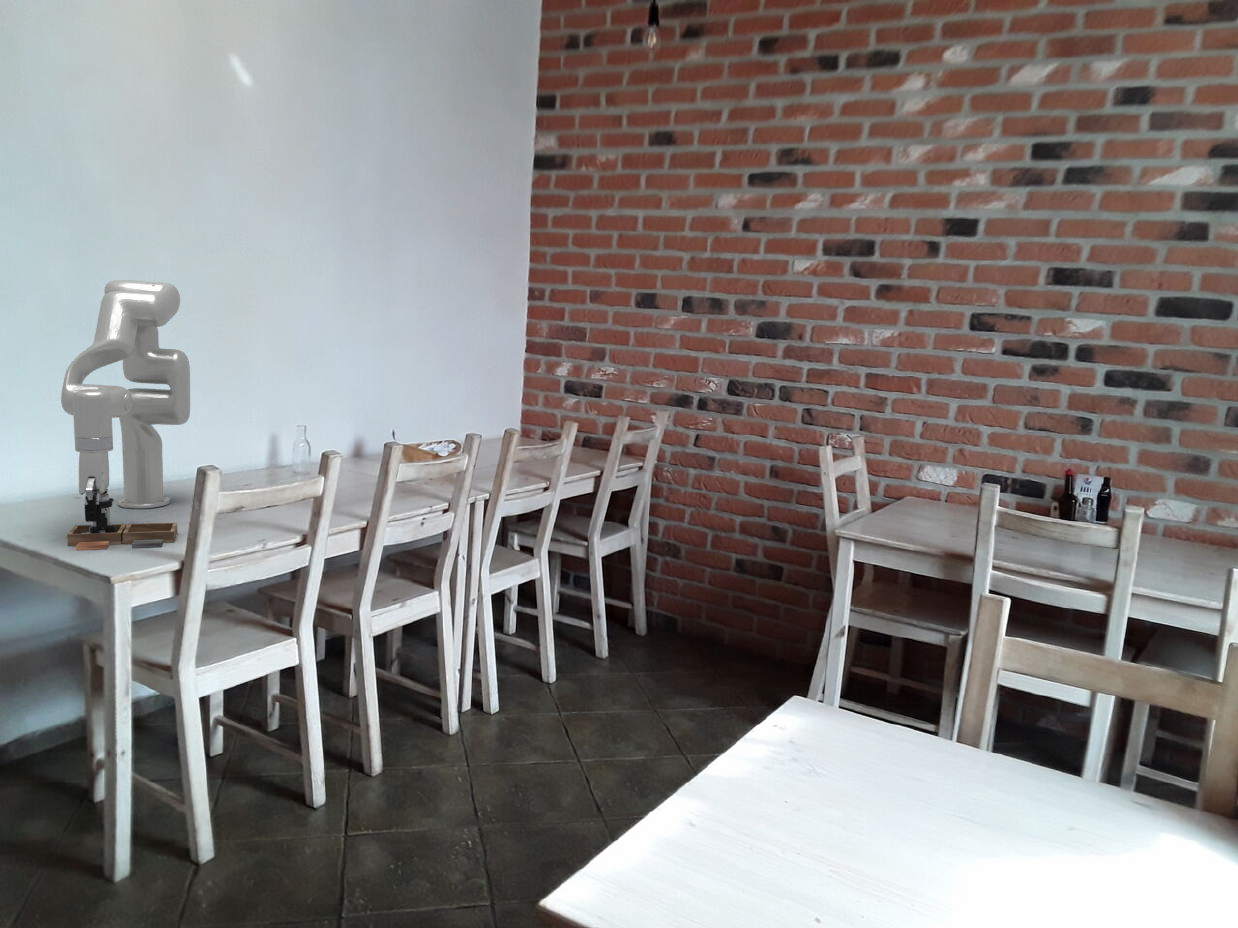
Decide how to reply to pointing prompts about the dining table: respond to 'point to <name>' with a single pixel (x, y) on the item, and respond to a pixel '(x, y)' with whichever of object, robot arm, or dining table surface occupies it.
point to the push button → (103, 517)
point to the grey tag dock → (149, 534)
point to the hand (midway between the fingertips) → (97, 515)
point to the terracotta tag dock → (94, 537)
